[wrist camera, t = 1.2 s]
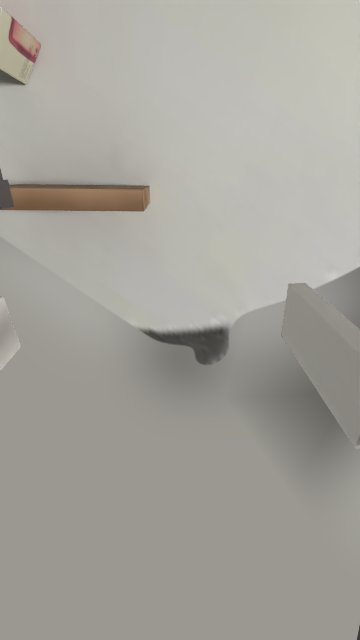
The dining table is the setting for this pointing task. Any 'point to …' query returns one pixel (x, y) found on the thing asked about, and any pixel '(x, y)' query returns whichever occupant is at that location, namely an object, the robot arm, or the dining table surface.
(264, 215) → the dining table surface
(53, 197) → the rack
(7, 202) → the tie bar
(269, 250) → the dining table surface
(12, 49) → the small box
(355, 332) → the robot arm
